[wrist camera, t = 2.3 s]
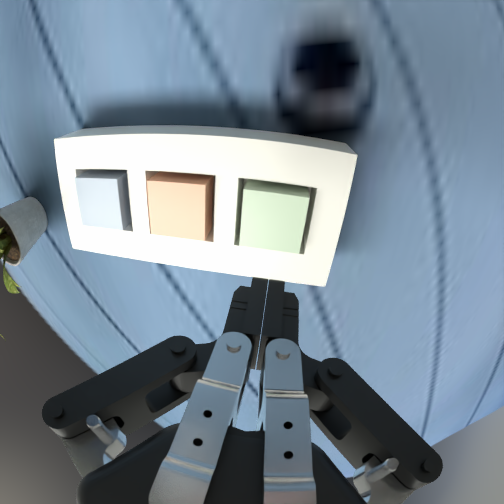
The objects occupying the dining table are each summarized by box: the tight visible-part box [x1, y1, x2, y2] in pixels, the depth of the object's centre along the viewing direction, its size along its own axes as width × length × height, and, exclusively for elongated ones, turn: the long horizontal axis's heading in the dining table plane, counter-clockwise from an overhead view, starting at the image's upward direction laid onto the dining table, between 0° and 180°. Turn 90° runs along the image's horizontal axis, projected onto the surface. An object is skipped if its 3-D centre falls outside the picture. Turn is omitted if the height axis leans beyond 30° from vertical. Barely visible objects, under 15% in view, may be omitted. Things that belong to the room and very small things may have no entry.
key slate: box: [75, 169, 132, 230], centre depth 22 cm, size 4×4×2 cm
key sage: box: [239, 179, 310, 254], centre depth 21 cm, size 4×4×2 cm
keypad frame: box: [54, 125, 357, 287], centre depth 23 cm, size 24×11×4 cm, turn 85°
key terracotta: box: [147, 171, 214, 241], centre depth 21 cm, size 4×4×2 cm
